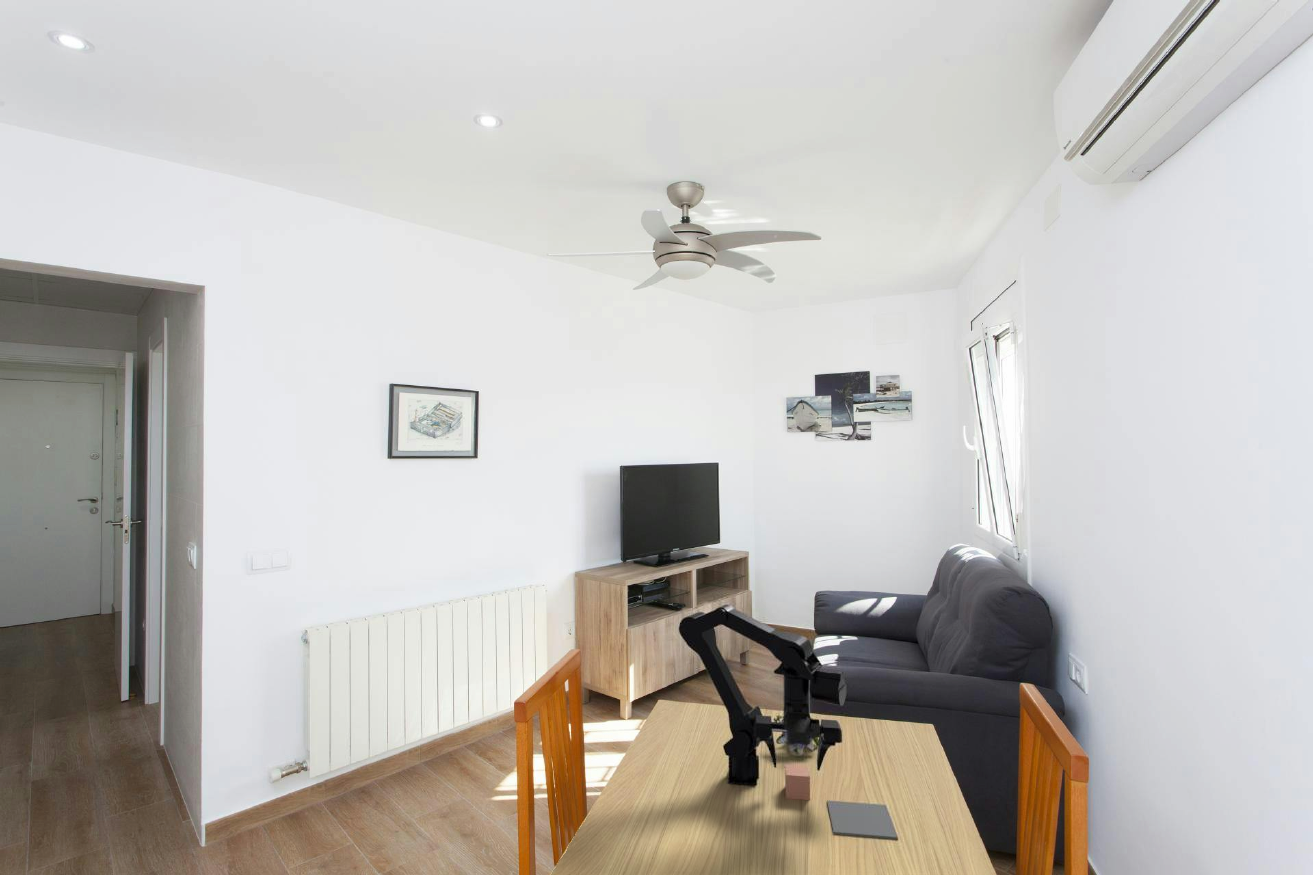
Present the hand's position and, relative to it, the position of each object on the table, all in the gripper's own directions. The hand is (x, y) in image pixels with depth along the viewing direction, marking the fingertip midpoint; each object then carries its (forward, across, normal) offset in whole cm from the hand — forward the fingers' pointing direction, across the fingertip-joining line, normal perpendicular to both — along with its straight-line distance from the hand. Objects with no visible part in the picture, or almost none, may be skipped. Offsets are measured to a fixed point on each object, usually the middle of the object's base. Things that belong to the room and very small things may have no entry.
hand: (796, 768), depth 144 cm
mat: (+5, +12, -9) cm, 16 cm away
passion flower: (+6, +1, +23) cm, 24 cm away
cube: (+5, 0, 0) cm, 5 cm away
